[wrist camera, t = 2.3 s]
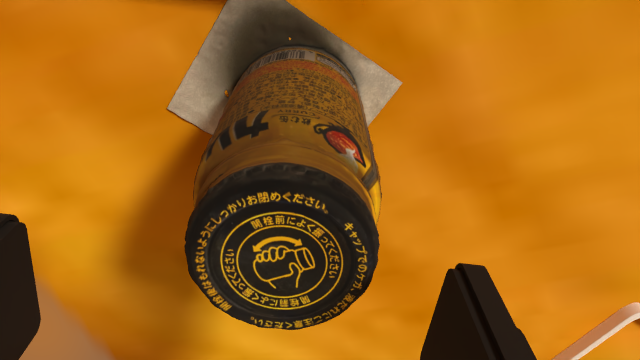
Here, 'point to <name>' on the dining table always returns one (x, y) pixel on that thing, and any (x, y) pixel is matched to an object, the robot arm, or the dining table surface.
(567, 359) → the phone case
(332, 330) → the dining table surface
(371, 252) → the condiment
